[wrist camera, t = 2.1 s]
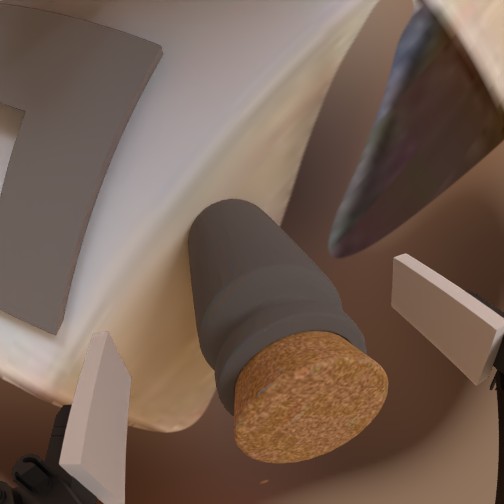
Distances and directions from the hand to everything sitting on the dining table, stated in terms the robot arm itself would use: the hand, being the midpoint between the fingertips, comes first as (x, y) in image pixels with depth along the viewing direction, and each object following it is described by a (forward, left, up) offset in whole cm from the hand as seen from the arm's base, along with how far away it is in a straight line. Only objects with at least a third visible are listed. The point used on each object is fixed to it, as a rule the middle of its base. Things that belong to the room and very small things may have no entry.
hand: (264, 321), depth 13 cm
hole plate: (-11, -16, -9) cm, 22 cm away
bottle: (0, 0, -9) cm, 9 cm away
